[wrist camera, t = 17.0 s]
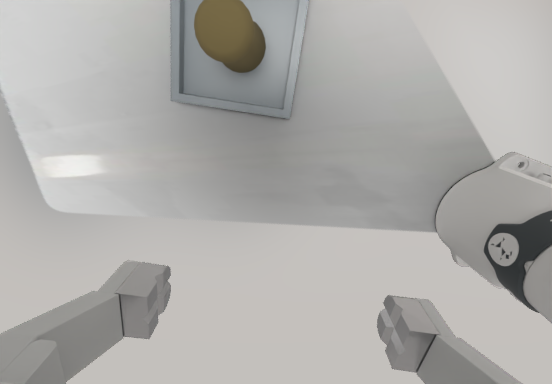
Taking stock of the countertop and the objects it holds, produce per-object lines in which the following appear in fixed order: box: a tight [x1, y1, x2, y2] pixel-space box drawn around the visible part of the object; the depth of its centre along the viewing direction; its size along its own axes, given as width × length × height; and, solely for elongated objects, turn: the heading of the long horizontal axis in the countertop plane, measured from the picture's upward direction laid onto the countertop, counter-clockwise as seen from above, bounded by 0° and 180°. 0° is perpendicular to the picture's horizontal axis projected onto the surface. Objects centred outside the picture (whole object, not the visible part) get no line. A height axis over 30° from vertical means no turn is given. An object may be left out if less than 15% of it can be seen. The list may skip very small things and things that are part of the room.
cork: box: [194, 0, 266, 73], centre depth 27 cm, size 6×6×11 cm
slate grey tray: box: [171, 0, 309, 119], centre depth 31 cm, size 15×15×2 cm
